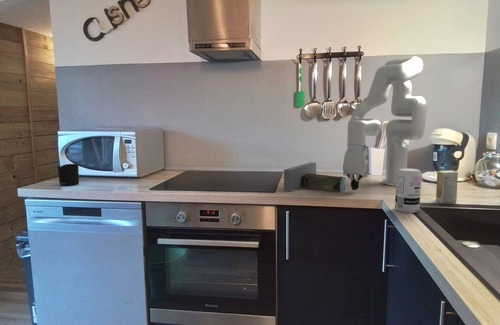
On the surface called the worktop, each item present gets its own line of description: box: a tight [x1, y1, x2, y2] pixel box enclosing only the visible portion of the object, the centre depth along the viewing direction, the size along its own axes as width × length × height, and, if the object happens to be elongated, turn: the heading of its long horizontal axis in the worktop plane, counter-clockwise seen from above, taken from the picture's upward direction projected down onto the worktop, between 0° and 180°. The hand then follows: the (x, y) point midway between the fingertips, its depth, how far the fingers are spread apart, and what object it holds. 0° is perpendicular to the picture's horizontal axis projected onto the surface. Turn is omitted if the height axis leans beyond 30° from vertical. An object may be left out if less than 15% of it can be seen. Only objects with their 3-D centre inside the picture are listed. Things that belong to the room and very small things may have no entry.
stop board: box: [283, 161, 317, 193], centre depth 174 cm, size 3×28×10 cm, turn 145°
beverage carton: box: [301, 173, 347, 193], centre depth 168 cm, size 8×19×7 cm, turn 57°
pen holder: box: [56, 163, 80, 187], centre depth 182 cm, size 9×9×10 cm
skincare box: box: [435, 170, 459, 204], centre depth 143 cm, size 6×4×12 cm
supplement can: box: [394, 167, 423, 214], centre depth 130 cm, size 8×8×15 cm
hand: (354, 189), depth 159 cm, fingers closed
